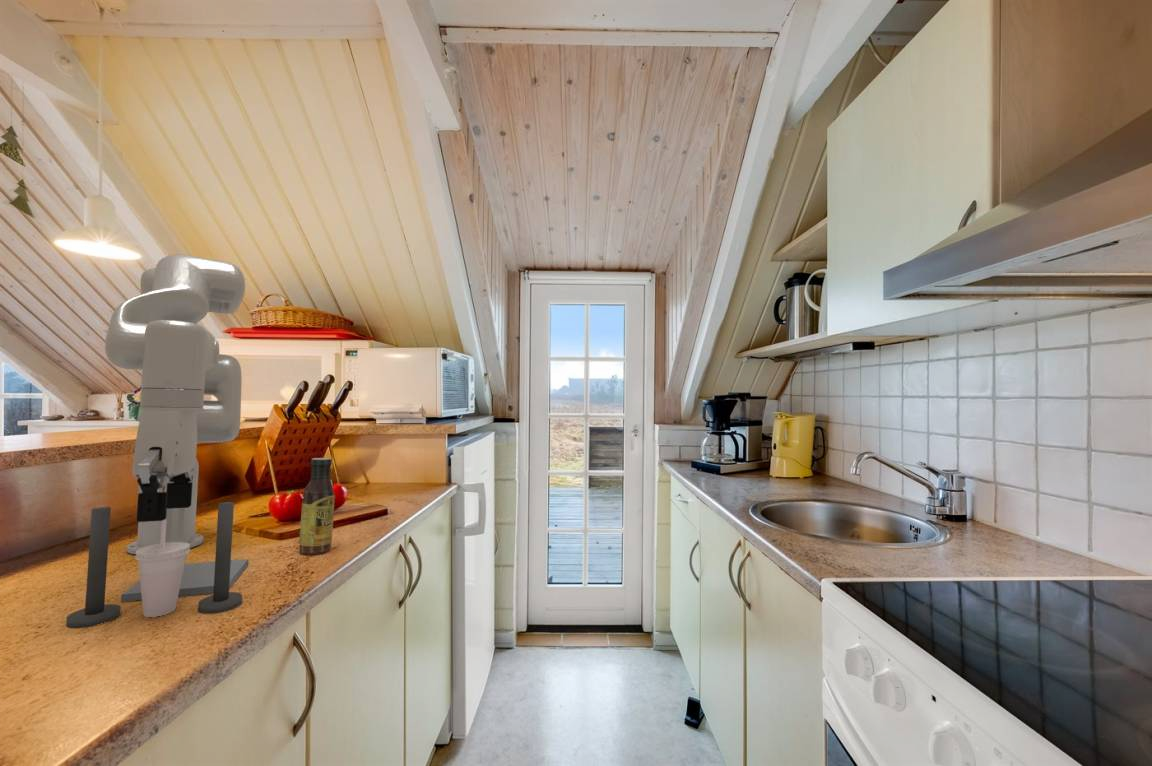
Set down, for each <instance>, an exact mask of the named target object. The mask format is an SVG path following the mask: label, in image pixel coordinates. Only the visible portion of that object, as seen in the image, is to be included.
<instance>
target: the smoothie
mask: <svg viewBox="0 0 1152 766" xmlns="http://www.w3.org/2000/svg"><path fill="white" fill-rule="evenodd" d="M165 535H166V519H164V520H162V524H161V540H160V544H154V545H150V546H146V547H143V548H140V549H139V550H137V551H136V554H135V556H134V559H135V560H137V562H138V574H139V581H140V585H141V596H142V600H141V604H142V615H144V616H145V617H144V616H143V617H144V618H148V617H152V618H158V617H157V616H160V617H163V616H162V615H164V616H167V615H169V613H170V614H172V613H174V612H175V611H176V608H177V603H178V598H179V597H178V594H179V590H180V585H181V580H182V575H183V570H184V566H185V564H186V560H187V555H188V553H190V552H191V548H190V544H188V543H185V542H168V543H165ZM174 610H175V611H174ZM173 611H174V612H173ZM171 612H172V613H171ZM166 614H167V615H166Z"/></svg>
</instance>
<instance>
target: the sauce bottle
mask: <svg viewBox="0 0 1152 766" xmlns="http://www.w3.org/2000/svg"><path fill="white" fill-rule="evenodd" d="M332 463H333V459H332V458H331V457H313V458H311V459H310V466H311V471H310V472H311V473H310V477H309V478H310V480H309V482H308V483H307V485H306V486H305V488H304V489H303V493H302V495H303V496H302V503H301V514H300V515H301V516H300V527H299V539H298V545H299V553H300V554H302V555H317V554H322V553H323V554H324V553H326V552H328V551H329V550H330V549H331V546H332V542H333V530H334V529H333V528H334V527H333V526H334V519H335V518H334V517H335V516H334V515H335V501H336V495H335V494H336V493H335V491H334V488H333V484H332V481H331V466H332V465H333V464H332Z"/></svg>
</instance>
